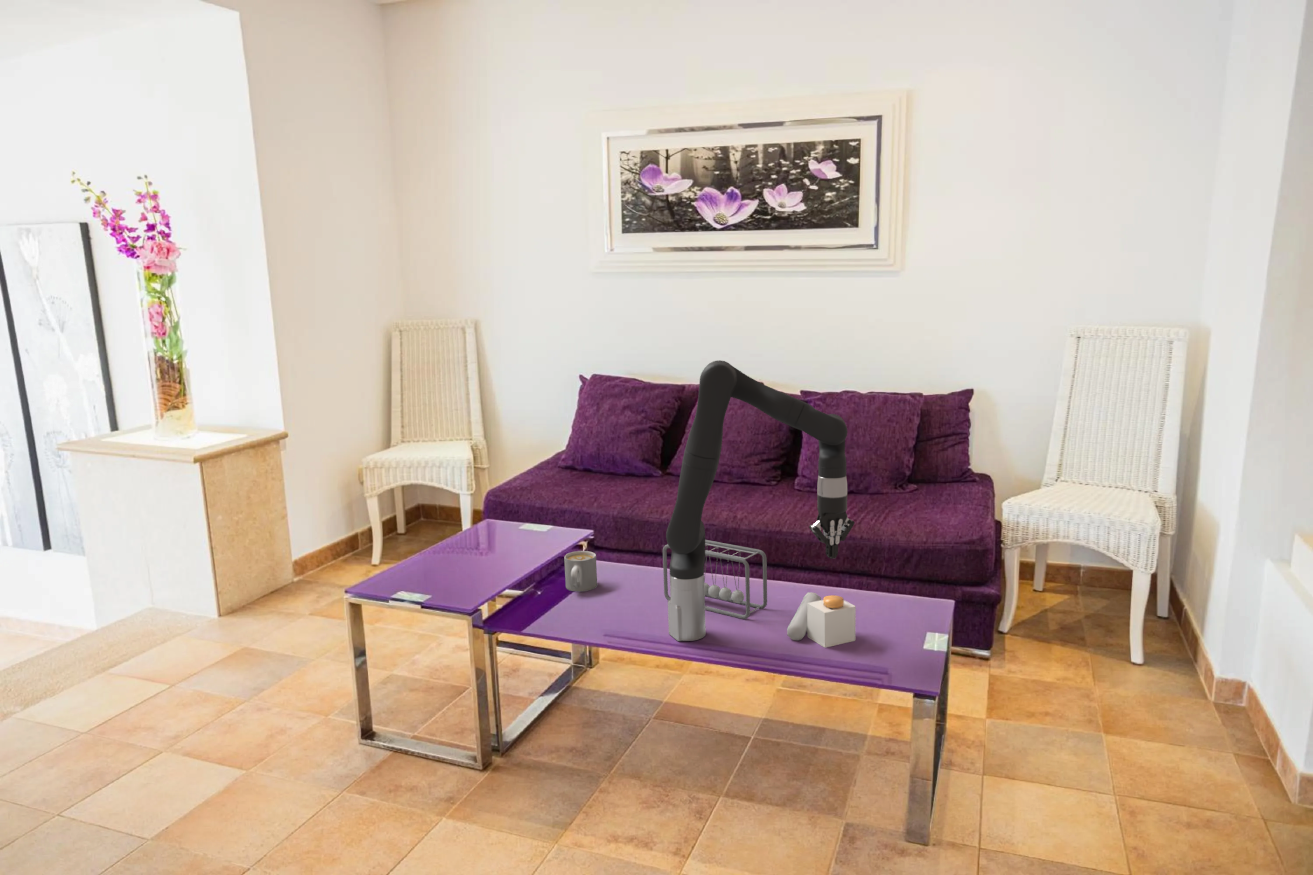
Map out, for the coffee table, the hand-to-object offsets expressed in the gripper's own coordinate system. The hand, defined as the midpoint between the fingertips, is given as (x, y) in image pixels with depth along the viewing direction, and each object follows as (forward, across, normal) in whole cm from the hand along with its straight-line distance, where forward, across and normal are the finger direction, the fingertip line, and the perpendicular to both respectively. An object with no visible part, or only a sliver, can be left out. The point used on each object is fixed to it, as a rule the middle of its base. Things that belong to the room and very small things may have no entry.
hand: (831, 557), depth 234 cm
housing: (+23, 0, 0) cm, 23 cm away
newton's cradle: (+23, -15, +37) cm, 46 cm away
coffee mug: (+23, -46, +71) cm, 88 cm away
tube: (+23, -1, +12) cm, 26 cm away
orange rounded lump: (+15, 0, -1) cm, 15 cm away
